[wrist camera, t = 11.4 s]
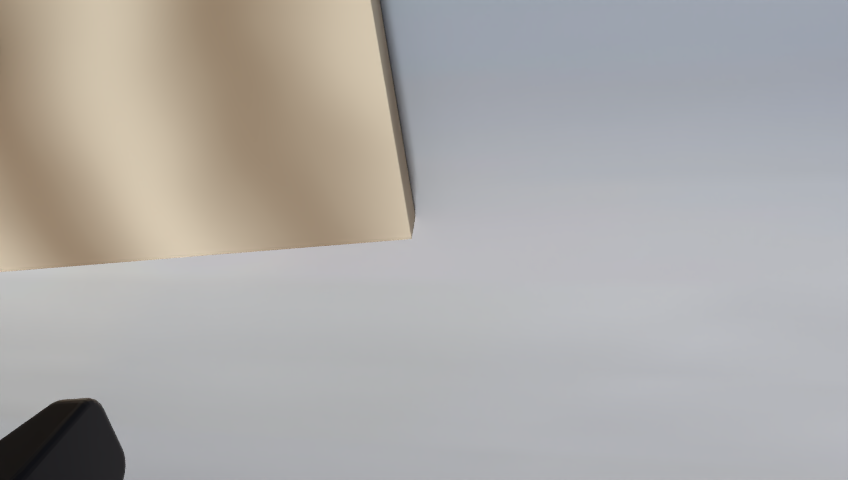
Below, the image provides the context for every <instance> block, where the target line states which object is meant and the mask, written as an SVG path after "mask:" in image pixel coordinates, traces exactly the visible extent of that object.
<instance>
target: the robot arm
mask: <svg viewBox="0 0 848 480" xmlns="http://www.w3.org/2000/svg"><path fill="white" fill-rule="evenodd" d="M124 474H125V456H124V452H123V449H122V447H121V445H120V443H119V441H118V438H117V436H116V434H115V432H114V430H113V428H112V426H111V424H110V421H109V419H108V417H107V415H106V413H105V411H104V409H103V407H102V405H101V404H100V403H99V402H98V401H96V400H95V399H91V398H81V399H65V400H59V401H56V402H54V403H52V404H51V405H49V406H48V407H46V408H45V409H43V410H42V411H41V412H39V413H38V414H36V415H35V416H34V417H32V418H31V419H29V420H28V421H27V422H25V423H24V424H22V425H21V426H19V427H18V428H17V429H15V430H14V431H12V432H11V433H10V434H8V435H7V436H5V437H4V438H3V439H1V440H0V480H123V479H124Z"/></svg>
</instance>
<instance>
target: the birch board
mask: <svg viewBox="0 0 848 480" xmlns="http://www.w3.org/2000/svg"><path fill="white" fill-rule="evenodd" d="M414 222H415V211H414V205H413V199H412V193H411V187H410V181H409V175H408V169H407V163H406V157H405V151H404V145H403V139H402V133H401V127H400V121H399V115H398V109H397V103H396V97H395V91H394V85H393V79H392V73H391V67H390V61H389V55H388V49H387V43H386V37H385V31H384V25H383V19H382V13H381V7H380V1H379V0H0V272H5V271H18V270H30V269H42V268H55V267H67V266H80V265H92V264H105V263H117V262H130V261H142V260H154V259H167V258H179V257H192V256H204V255H217V254H229V253H242V252H254V251H266V250H279V249H291V248H304V247H316V246H329V245H341V244H354V243H366V242H378V241H391V240H403V239H412V233H413V228H414Z"/></svg>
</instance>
